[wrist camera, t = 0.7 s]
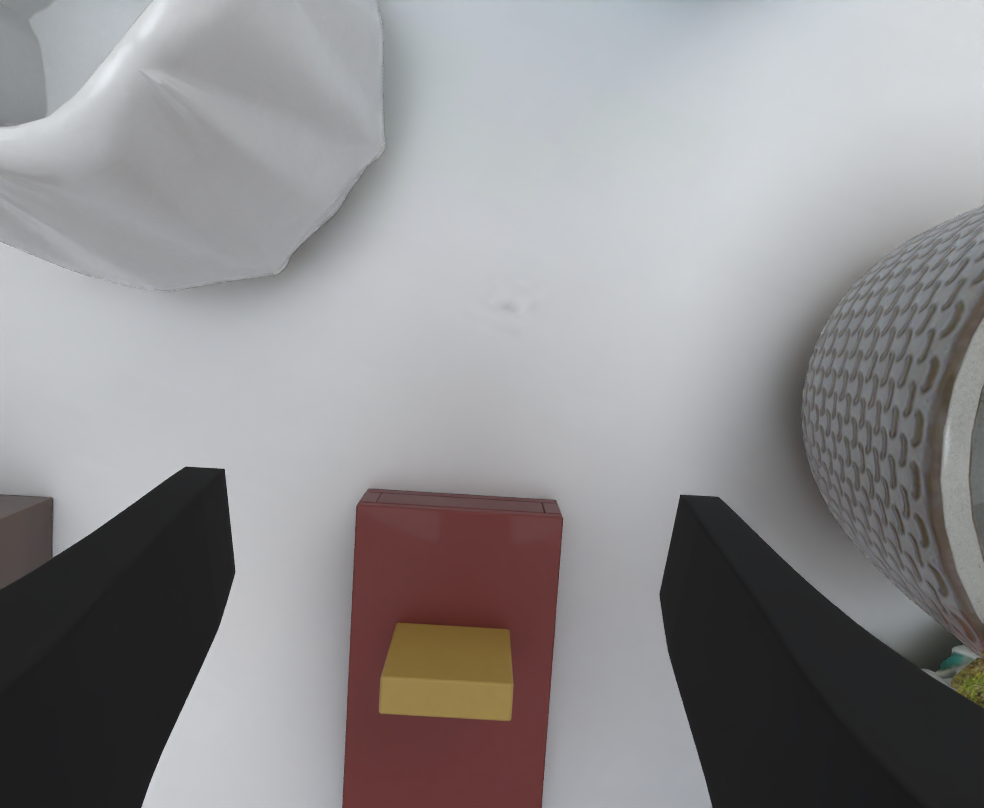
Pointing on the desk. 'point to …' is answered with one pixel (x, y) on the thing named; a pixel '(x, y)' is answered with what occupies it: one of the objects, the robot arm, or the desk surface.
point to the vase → (183, 131)
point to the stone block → (971, 681)
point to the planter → (909, 421)
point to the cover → (450, 657)
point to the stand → (24, 535)
